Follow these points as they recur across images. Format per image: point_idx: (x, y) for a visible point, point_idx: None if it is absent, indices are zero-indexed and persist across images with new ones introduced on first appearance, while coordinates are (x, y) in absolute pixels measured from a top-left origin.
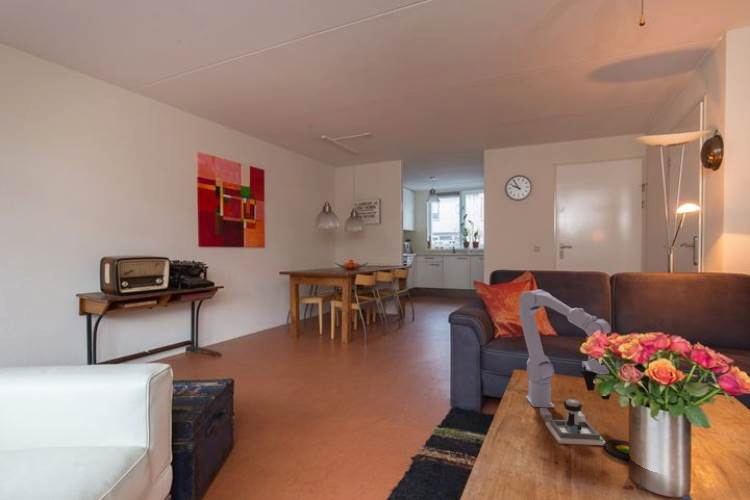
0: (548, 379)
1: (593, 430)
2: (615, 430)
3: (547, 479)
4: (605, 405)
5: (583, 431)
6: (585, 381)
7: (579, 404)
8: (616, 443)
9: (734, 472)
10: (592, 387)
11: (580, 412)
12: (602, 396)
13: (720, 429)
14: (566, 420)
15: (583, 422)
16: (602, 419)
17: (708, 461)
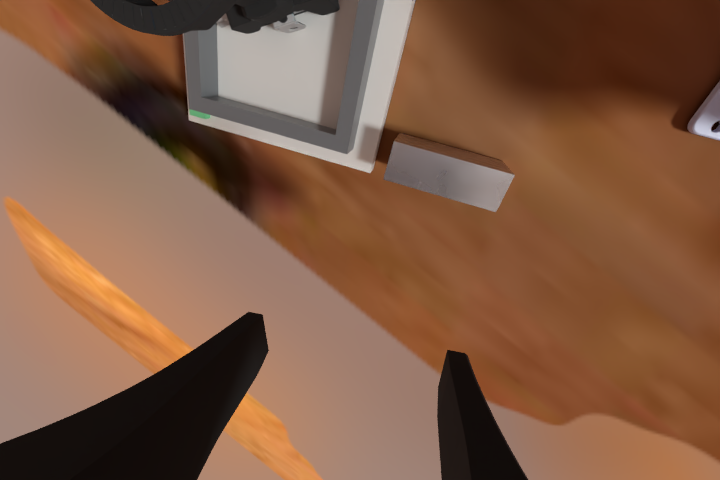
0: None
1: (234, 108)
2: (324, 259)
3: None
4: (543, 394)
5: (288, 76)
6: (492, 434)
7: (132, 4)
8: (221, 179)
9: (124, 340)
10: (442, 404)
11: (442, 189)
12: (234, 325)
13: (309, 474)
14: (373, 2)
15: (337, 123)
16: (426, 286)
17: (158, 337)
